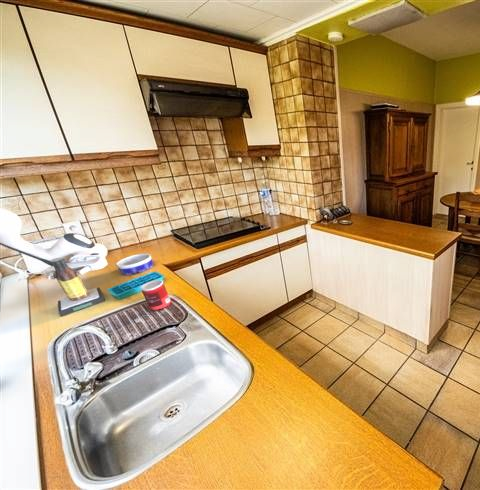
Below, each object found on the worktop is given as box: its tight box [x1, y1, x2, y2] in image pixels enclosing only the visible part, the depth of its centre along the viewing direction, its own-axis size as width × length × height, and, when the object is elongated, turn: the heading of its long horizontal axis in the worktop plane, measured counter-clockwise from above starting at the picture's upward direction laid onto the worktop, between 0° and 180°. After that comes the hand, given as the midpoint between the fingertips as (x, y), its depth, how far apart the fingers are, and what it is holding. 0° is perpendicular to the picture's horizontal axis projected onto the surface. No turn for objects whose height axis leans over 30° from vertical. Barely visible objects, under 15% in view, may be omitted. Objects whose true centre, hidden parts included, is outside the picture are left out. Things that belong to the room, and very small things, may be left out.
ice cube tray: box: [107, 270, 165, 300], centre depth 131 cm, size 12×20×3 cm, turn 147°
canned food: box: [141, 280, 172, 312], centre depth 114 cm, size 8×8×11 cm
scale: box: [57, 287, 105, 317], centre depth 121 cm, size 14×13×3 cm
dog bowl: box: [115, 253, 155, 276], centre depth 150 cm, size 15×15×6 cm
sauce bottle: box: [50, 257, 88, 301], centre depth 116 cm, size 7×6×20 cm
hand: (65, 275), depth 115 cm, fingers open, 8 cm apart
